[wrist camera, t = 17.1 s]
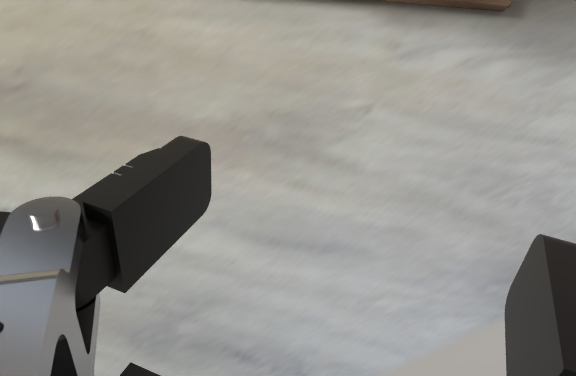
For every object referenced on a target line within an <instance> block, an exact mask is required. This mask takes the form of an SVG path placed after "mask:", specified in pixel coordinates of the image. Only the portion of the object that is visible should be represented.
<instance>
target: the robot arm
mask: <svg viewBox="0 0 576 376" xmlns="http://www.w3.org/2000/svg"><path fill="white" fill-rule="evenodd" d="M210 199H211V150H210V146H209V144H208V143H206V142H203V141H199V140H195V139H192V138H188V137H184V136H178V137H177V138H175V139H174V140H172V141H171V142H169V143H168V144H166V145H165V146H163V147H162V148H160V149H159V148H158V149H155V150H152V151H149V152H146V153H143V154H140V155H138V156H137V157H135V158H134V159H132V160H131V161H129V162H128V163H126V165H125V166H122V167H120V168H119V169H117V170H116V171H114V174H112V173H111V174H110V175H108V176H107V177H105V178H103V179H102V180H100V181H99V182H97V183H96V184H94V185H93V186H91V187H90V188H88V189H87V190H85V191H84V192H82V193H81V194H79V195H78V196H76V197H75V198H73V199H69V198H65V197H44V198H39V199H35V200H32V201H29V202H27V203H24V204H22V205H20V206H19V207H17V208H16V209H15V210H13V211H12V212H0V376H94V362H95V352H96V342H97V332H98V321H99V311H100V296H99V292H100V291H102V290H103V289H104V288H105V287H106V286H108V287H111V288H113V289H116V290H118V291H121V292H123V293H126V292H127V291H128V290H129V289H130V288H131V287H132V286H133V285H134V284H135V283H136V282H137V281H138V280H139V279H140V278H141V277H142V276H143V275H144V273H145V272H146V271H147V270H148V269H149V268H150V267H151V266H152V265H153V264H154V263H155V262H156V261H157V260H158V259H159V258H160V257H161V256H162V255H163V254H164V253H165V252H166V251H167V250H168V249H169V248H170V247H171V246H172V245H173V244H174V243H175V242H176V241H177V240H178V239H179V238H180V237H181V236H182V235H183V234H184V233H185V232H186V231H187V230H188V229H189V228H190V227H191V226H192V225H193V224H194V223H195V222H196V221H197V220H198V219H199V218H200V217H201V216H202V215H203V214H204V213H205V211H206V209H207V207H208V205H209V202H210ZM505 337H506V371H507V376H576V244H575V243H571V242H567V241H564V240H560V239H556V238H553V237H549V236H545V235H542V234H539V235H538V236H537V237H536V238H535V239H534V241H533V243H532V244H531V246H530V248H529V250H528V252H527V255H526V257H525V259H524V261H523V263H522V265H521V267H520V269H519V271H518V273H517V275H516V277H515V279H514V281H513V283H512V285H511V287H510V290H509V292H508V296H507V300H506V305H505ZM120 376H160V375H158V374H155V373H153V372H151V371H149V370H146V369H144V368H142V367H140V366H138V365H135V364H133V363H130V364H129V365H128V366H127V367H126V369H125V370H124V371H123V372H122V374H121V375H120Z"/></svg>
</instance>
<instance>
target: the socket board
mask: <svg viewBox="0 0 576 376" xmlns="http://www.w3.org/2000/svg"><path fill="white" fill-rule="evenodd" d="M382 1H394V2H405V3H416V4H427V5H439V6H450V7H461V8H472V9H484V10H495V11H503V10H505V9H506V8H507V7H509V6H510V3H511V0H382Z"/></svg>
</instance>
